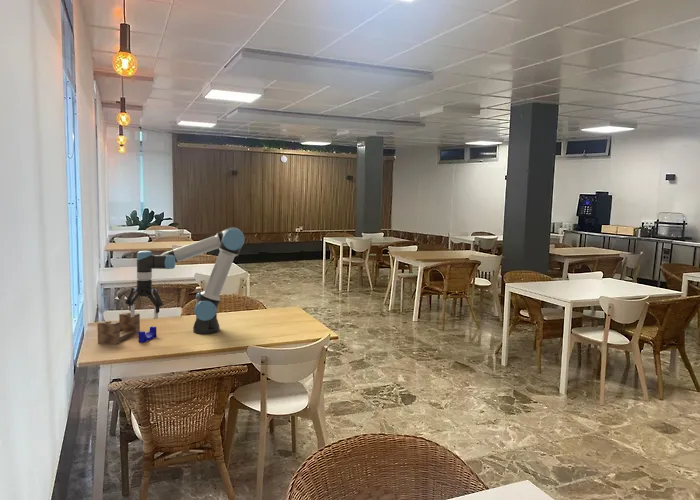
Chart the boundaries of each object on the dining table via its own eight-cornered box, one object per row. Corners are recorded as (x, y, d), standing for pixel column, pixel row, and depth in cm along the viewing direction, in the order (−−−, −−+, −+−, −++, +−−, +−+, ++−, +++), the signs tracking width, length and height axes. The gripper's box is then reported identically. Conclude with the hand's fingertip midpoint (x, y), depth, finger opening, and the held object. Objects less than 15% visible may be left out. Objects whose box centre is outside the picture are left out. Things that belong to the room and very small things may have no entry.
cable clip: (149, 336, 283) (149, 326, 283) (156, 337, 283) (156, 326, 282) (136, 342, 272) (135, 331, 271) (143, 343, 271) (143, 332, 270)
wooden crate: (139, 332, 290) (139, 312, 289) (115, 344, 267) (115, 322, 265) (123, 331, 291) (123, 311, 290) (97, 343, 268) (97, 321, 267)
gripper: (169, 279, 276) (169, 317, 278) (126, 276, 279) (126, 314, 281) (162, 282, 268) (162, 321, 271) (118, 279, 271) (119, 317, 274)
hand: (144, 317), depth 276 cm, fingers open, 13 cm apart
